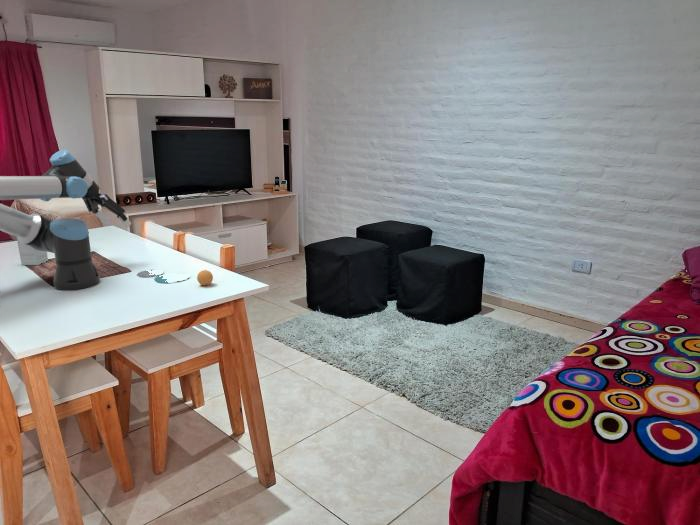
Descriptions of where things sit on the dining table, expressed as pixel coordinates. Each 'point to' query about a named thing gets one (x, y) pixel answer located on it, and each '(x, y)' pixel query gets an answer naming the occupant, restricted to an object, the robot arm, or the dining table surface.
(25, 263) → the supplement box
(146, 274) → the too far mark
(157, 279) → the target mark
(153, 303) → the dining table surface
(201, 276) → the ball
